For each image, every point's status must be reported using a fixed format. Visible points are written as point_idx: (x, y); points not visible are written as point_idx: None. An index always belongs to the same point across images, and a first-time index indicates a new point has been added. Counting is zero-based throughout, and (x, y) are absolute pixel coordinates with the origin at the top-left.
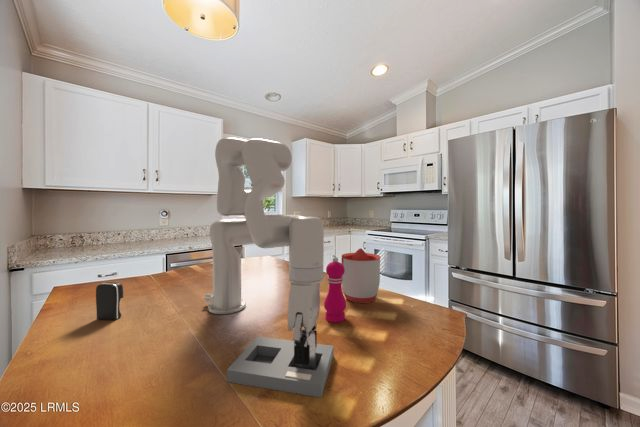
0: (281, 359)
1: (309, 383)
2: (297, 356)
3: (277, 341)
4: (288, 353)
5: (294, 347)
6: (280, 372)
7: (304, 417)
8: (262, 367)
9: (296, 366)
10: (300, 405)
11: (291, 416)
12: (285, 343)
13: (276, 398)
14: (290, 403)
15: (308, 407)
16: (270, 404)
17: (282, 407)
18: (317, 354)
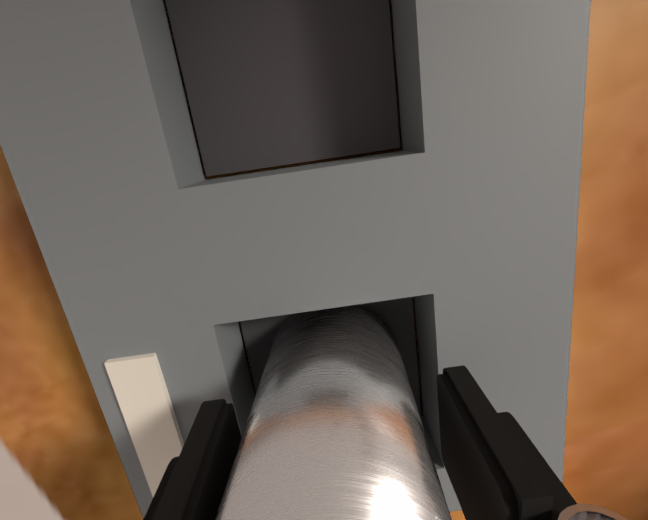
0: (269, 239)
1: (136, 496)
2: (160, 490)
3: (535, 40)
4: (368, 252)
5: (153, 517)
6: (128, 309)
7: (43, 466)
8: (104, 145)
9: (273, 351)
10: (91, 428)
11: (14, 421)
12: (516, 145)
13: (62, 311)
14: (75, 386)
15: (100, 460)
16: (11, 304)
17: (32, 365)
18: (438, 431)
